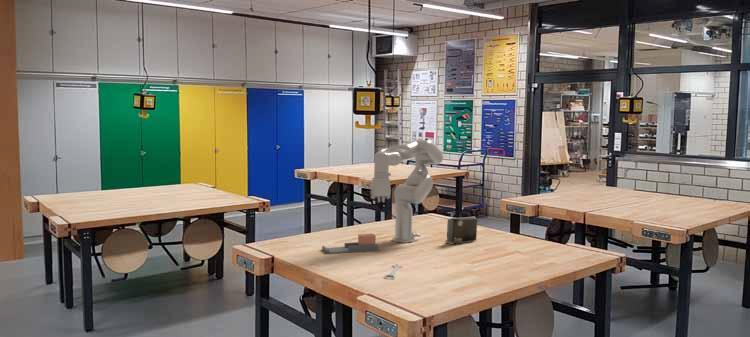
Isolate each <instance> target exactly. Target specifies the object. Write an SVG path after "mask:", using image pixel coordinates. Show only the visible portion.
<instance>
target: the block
mask: <svg viewBox="0 0 750 337" xmlns="http://www.w3.org/2000/svg"><path fill="white" fill-rule="evenodd" d="M376 237H377V236H376V235H375V234H374V233H361V234H360V233H359V234H358V236H357V242H358V245H372V244H376Z"/></svg>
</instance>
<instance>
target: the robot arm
mask: <svg viewBox="0 0 750 337" xmlns="http://www.w3.org/2000/svg"><path fill="white" fill-rule="evenodd" d="M443 156H444V155H443V152H442V151H441V150H440V149H439V148H438V146H437V145H436V144H434V143H433V141H431V140H428V139H414V140H411V141H409V142H406V143H404V144H399V145H395V146H391V147H390V146H389V147H386V148H383V149H381V150H378V152H375V154H374V170H373V171H374V173H373V174H374V176H373V177H372V179H371V186H370V195H371V196H370V199H372V200H375V201H376V202H377V203H376V204H377V206H376V207H377V210H379V211H381V210H383V209H384V203H385V201H386V200H389V199H391V192H392V191H391V190H392V189H391V179H390V176H391V175H392V173H391V172H389V166H393V167H394V166H396V167H397V166H398V165H400V163H401V162H402V161H403V160H409V159H411V158H413V157H415V158H414V159H415V160H414V161H415V168H414V169H413V171H411V173H410V174H409V175H408V177H407V178H406V180H405V184H403V185H402V184H401V185H397V187H395V189H394V193H393V194H394V200H395V223H394V224H395V225H394V226H395V229H394V230H395V231H394V234H395V236H393V237H392V241H393V242H396V243H403V244H405V243H413V242H415V241H416V240H415V239H416V238H417V237H418V238H420V237H421V234H420V233H419V232H417V233H416V232H413V213H414V212H413V207H412V204H416V205H417V204H419V205H420V204H421V203H422V202H423V201H424V200H425V198H427V196H428V195H429V194H430V192H431V191H432V188H433V186H434V180H433V177H432V176H430V175H429V170H428V168H427V165H439V164H441V163H442V162H443V158H444V157H443Z"/></svg>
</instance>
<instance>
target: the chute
mask: <svg viewBox="0 0 750 337" xmlns="http://www.w3.org/2000/svg"><path fill="white" fill-rule="evenodd" d="M321 247H322V248H321V250H322V251H323V252H324V253H326V255H332V254H345V253H346V254H347V253H360V252H361V253H363V252H378V251H380V250H379V244H378V243H375V244H372V245H358V241H356V242H344V246H334V247H326V246H324V245H322V246H321Z"/></svg>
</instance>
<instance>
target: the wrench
mask: <svg viewBox="0 0 750 337" xmlns="http://www.w3.org/2000/svg"><path fill="white" fill-rule="evenodd" d="M401 267H402V268H403V267H404V265H399V264H398V263H395V264H394V263H393V264H392V265H391V268H393V269H392V270H391V271H390V273H389V274H385V275H384V276H383V278H384V279H385V278H386V279H385V280H389V279H391V280H395V279H396V276H395V274H396V273H395V272H397V271H398V270H399V269H402V268H401ZM388 276H389V277H388ZM390 276H391V277H390ZM394 278H395V279H394Z"/></svg>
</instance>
